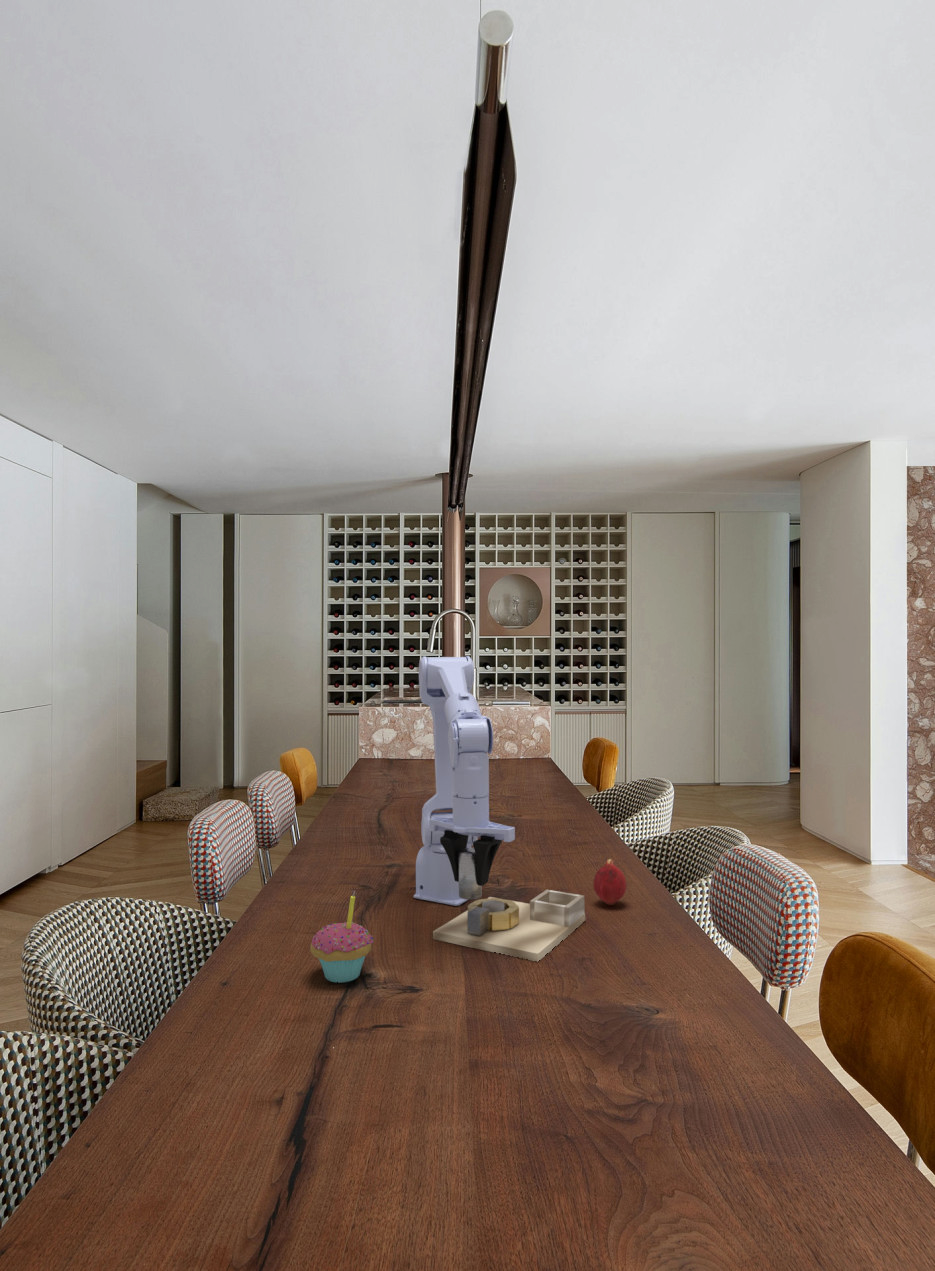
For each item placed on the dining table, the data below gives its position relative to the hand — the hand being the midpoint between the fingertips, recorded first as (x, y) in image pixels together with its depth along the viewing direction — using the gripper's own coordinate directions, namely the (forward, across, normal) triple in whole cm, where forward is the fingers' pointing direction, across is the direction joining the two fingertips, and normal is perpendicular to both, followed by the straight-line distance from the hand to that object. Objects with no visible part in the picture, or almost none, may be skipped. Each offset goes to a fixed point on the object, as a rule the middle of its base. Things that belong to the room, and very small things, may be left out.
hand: (471, 881), depth 120 cm
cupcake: (+9, -9, -21) cm, 24 cm away
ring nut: (+7, +1, +4) cm, 8 cm away
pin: (+2, 0, 0) cm, 2 cm away
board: (+9, +4, +6) cm, 12 cm away
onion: (+9, +14, +26) cm, 30 cm away
